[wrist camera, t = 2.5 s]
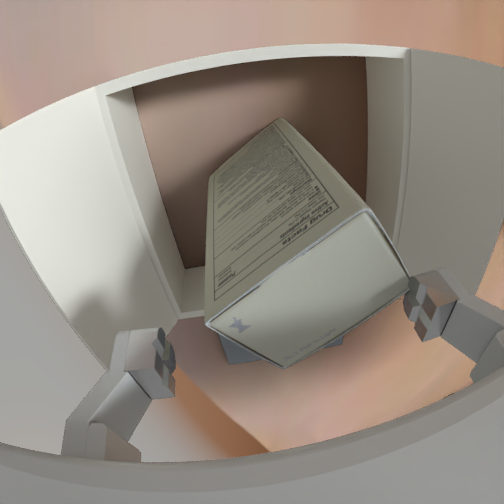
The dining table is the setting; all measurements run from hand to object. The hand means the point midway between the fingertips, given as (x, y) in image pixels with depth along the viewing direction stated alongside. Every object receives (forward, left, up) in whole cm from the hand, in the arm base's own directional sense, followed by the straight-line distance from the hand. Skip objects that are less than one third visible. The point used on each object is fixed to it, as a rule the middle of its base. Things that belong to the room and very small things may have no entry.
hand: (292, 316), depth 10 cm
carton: (-1, 0, -12) cm, 12 cm away
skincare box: (-1, 0, -12) cm, 12 cm away
